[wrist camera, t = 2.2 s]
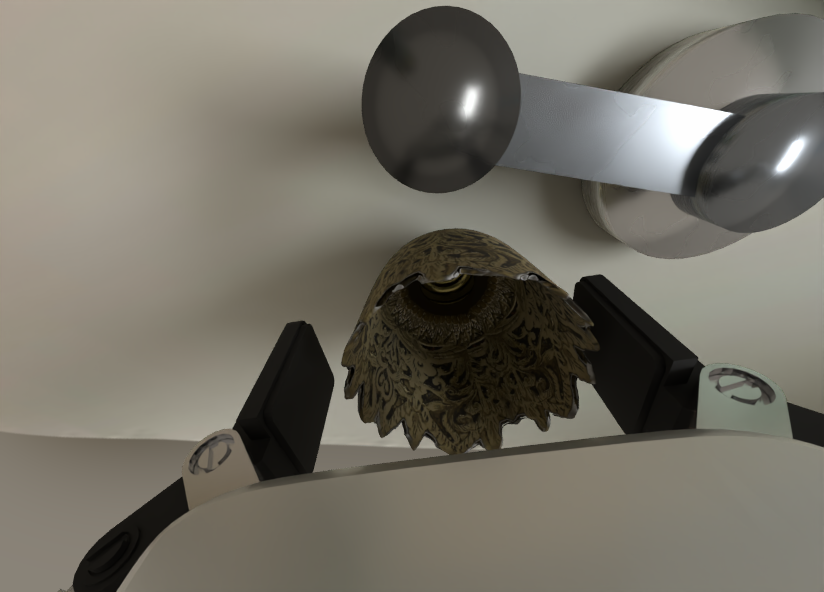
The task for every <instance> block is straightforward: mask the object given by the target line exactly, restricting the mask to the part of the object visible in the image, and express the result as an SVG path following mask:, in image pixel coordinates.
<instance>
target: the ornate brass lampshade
mask: <svg viewBox="0 0 824 592" xmlns="http://www.w3.org/2000/svg"><path fill="white" fill-rule="evenodd" d="M589 326H593V323H592V321H591V319H590V318H589V317H588V315H587V314H586V313H585V312H584V311H583V310H582V309H581V308H580V307H579V306H578V305H577V304H576V303H575V302H574V301H573V300H572V299H571V298H570V297H569V294H568V293H567V292H565V291H564V290H563V289H561V288H560V287H558V286H557V285H556V284H555V283H553V282H552V281H551V280H550V279H549V278H548V277H547V276H545V275H544V274H543V273H542V272H541V271H540V270H538V269H537V268H536V267H535V266H534V265H533V264H531V263H530V262H529V261H528V260H527V259H525V258H524V257H523V256H522V255H520V254H519V253H518V252H516V251H515V250H514V249H512V248H511V247H510V246H508V245H507V244H505V243H503V242H501V241H500V240H498V239H496V238H494V237H492V236H489V235H487V234H484V233H481V232H478V231H474V230H468V229H457V228H455V229H443V230H437V231H434V232H430V233H427V234H425V235H422V236H420V237H418V238H416V239H414V240H412V241H411V242H409V243H408V244H406V245H405V246H404V247H402V248H401V249H400V250H399V251H398V252H397V253H396V254H395V255H394V256H393V257H392V258H391V259H390V260H389V262H388V263H387V264H386V266H385V267H384V269H383V270H382V272H381V273H380V275H379V277H378V279H377V280H376V282H375V284H374V286H373V288H372V290H371V293H370V295H369V297H368V299H367V301H366V304H365V306H364V308H363V311H362V313H361V315H360V318H359V320H358V323H357V325H356V327H355V330H354V332H353V334H352V336H351V337H350V339H349V341H348V343H347V345H346V347H345V350H344V353H343V357H342V361H341V365H342V366H343V367H347V369H348V370H349V371H348V376H347V379H346V381H345V387H344V393H345V398H346V399H353V398H354V397H355V396H356V394H357V392H358V412H359V415H360V418H361V420H362V421H363V422H364V423H365V424H366V423H371V422H374V423H376V424H377V428H378V432H379V435H380V437H381V438H383V437H385V436H387V435H388V434H389V433H390V432H391V431H392V430H393V429H396V428H397V427H398V426H399V425H400V423H401V422H402V425H403V428H404V435H405V436H406V438H407V439H408V442H409V444H410V446H411V448H412V449H413V450H415V449H416V448H417V447H418V446H419V444H420V442H421V440H422V438H423V437H424V436H426V437H427V438H429V439H431V440H432V441H433V442H434V443H435V446H436V447H437V448H439V449H441V450H443V451H444V452H446V453H448V454H449V455H454V454H463V453H467V452H469V451H470V450H471V449H472V448H474V447H475V446H477V445H480V446H482V447H483V448H485V449H486V450H496V449H501V447H502V444H503V439H502V428H503V427H502V425H503V424H505V423H506V424H505V425H507V424H518V423H519V422H520V421H521V419H524V418H521V417H525V416H526V417H527V418H529V419H531V420H534V421H535V423H536V424H537V427H538V428H539V429H540V430H541V431H542V432H546V431H548V429H549V427H550V414H549V412H551V413H553V414H552V415H554V416H559V417H561V418H567V419H573V418H575V415H576V413H577V411H578V409H579V396H578V390H577V383H576V381H577V378H579V379H580V380H581V381H585V382H586V383H589V384H596V379H595V374H594V372H593V368H592V364H591V362H590V361H589V360H588V359H587V358H586V356H585V354H584V352H583V351H585V349H587V350H590V351H599V350H600V347H599V344H598V342H597V340H596V338H595V337H594V335H593V334H592V333H591V331H590V327H589ZM555 414H556V415H555ZM507 422H510V423H507ZM505 425H503V426H505Z"/></svg>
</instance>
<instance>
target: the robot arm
mask: <svg viewBox="0 0 824 592" xmlns="http://www.w3.org/2000/svg"><path fill="white" fill-rule="evenodd" d="M573 301H574V302H575V303H576V304H577V305H578V306H579V307H580V308H581V309H582V310H583V311H584V312H585V313H586V314H587V315H588V317H589V318H590V319H591V321H592V323H593V326H589V327H590V331H591V333H592V334H593V335H594V337H595V338H596V340H597V342H598V344H599V347H600V350H599V351H590V350H587V349H585V351H583V352H584V354H585V356H586V358H587V359H588V360H589V361H590V362H591V364H592V368H593V372H594V374H595V379H596V384H592V385H593V387H594V388H595V390H596V391H597V393H598V394H599V396H600V397H601V399H602V400H603V402H604V403H605V405H606V406H607V408H608V409H609V411H610V412H611V414H612V415H613V417H614V418H615V420H616V421H617V423H618V424H619V426H620V427H621V428H622V430H623V431H624V433H625V434H626V435H616V436H607V437H598V438H589V439H581V440H572V441H564V442H555V443H546V444H538V445H529V446H520V447H512V448H504V449H496V450H487V451H479V452H471V453H463V454H454V455H447V456H438V457H430V458H423V459H414V460H406V461H398V462H390V463H382V464H374V465H367V466H359V467H351V468H344V469H336V470H328V471H323V472H315V473H312V472H313V470H314V466H315V462H316V458H317V454H318V450H319V445H320V441H321V437H322V433H323V429H324V425H325V421H326V416H327V412H328V408H329V404H330V400H331V396H332V391H333V387H334V376H333V373H332V371H331V368H330V366H329V364H328V362H327V359H326V357H325V355H324V352H323V350H322V348H321V346H320V343H319V341H318V339H317V336H316V334H315V332H314V330H313V327H312V325H311V324H307V323H306V322H305V321H298V322H291V323H287V324H286V326H285V328H284V330H283V332H282V334H281V335H280V337H279V339H278V341H277V343H276V345H275V347H274V349H273V351H272V353H271V355H270V356H269V358H268V360H267V362H266V364H265V366H264V368H263V370H262V372H261V374H260V376H259V378H258V379H257V381H256V383H255V385H254V387H253V389H252V391H251V393H250V395H249V397H248V399H247V400H246V402H245V404H244V406H243V408H242V410H241V412H240V414H239V416H238V418H237V420H236V423H235V425H234V427H233V429H223V430H219V431H216V432H214V433H212V434H210V435H208V436H207V437H205V438H204V439H203V440H201V441H200V442H199V443H198V444H197V445H196V446H195V447H194V448H193V449H192V450H191V451H190V453H189V454H188V456H187V457H186V459H185V461H184V463H183V466H182V477H181V478H180V479H178V480H177V481H176V482H174V483H173V484H171V485H170V486H169V487H167V488H166V489H165V490H163V491H162V492H161V493H159V494H158V495H157V496H156V497H154V498H153V499H152V500H150V501H149V502H147V503H146V504H145V505H143V506H142V507H141V508H139V509H138V510H137V511H135V512H134V513H133V514H132V515H130V516H128V517H127V518H126V519H124V520H123V521H122V522H120V523H119V524H118V525H116V526H115V527H114V528H112V529H111V530H110V531H109V532H107V533H106V534H105V535H104V536H103V537H102V538H101V539H99V540H98V541H97V542H96V544H95V545H94V546H93V547H92V548H91V549H90V550H89V551H88V553H87V554H86V555H85V557H84V558H83V560H82V561H81V563H80V564H79V567H78V569H77V571H76V573H75V575H74V580H73V585H72V586H71V587H70V588H69V589H68V590H67V591H65V590H62V589H60V590H59V591H58V592H824V414H821V413H818V412H815V411H812V410H809V409H806V408H803V407H800V406H797V405H794V404H791V403H788V402H787V401H786V397H785V395H784V393H783V391H782V390H781V389H780V388H779V387H778V386H777V384H776V383H774V382H773V381H771V380H770V379H769V378H767V377H766V376H764V375H762V374H760V373H758V372H756V371H754V370H751V369H748V368H745V367H742V366H738V365H733V364H727V363H715V364H711V365H707V366H706V367H705V366H704V365H703V364H702V363H700V362H699V361H698V357H697V356H696V355H695V354H694V353H693V352H691V351H690V350H689V349H688V348H687V347H686V346H684V345H683V344H682V343H681V342H680V341H679V340H677V339H676V338H675V337H674V336H673V335H672V334H670V333H669V332H668V331H667V330H666V329H665V328H664V327H662V326H661V325H660V324H659V323H658V322H657V321H655V320H654V319H653V318H652V317H651V316H650V315H648V314H647V313H646V312H645V311H644V310H643V309H641V308H640V307H639V306H638V305H637V304H636V303H634V302H633V301H632V300H631V299H630V298H629V297H627V296H626V295H625V294H624V293H623V292H622V291H620V290H619V289H618V288H617V287H616V286H615V285H614V284H612V283H611V282H610V281H609V280H608V279H607V278H605V277H604V276H603V275H593V276H586V277H582V278H581V279H580V282H577V283H576V284H575V289H574V296H573Z"/></svg>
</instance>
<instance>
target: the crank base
mask: <svg viewBox="0 0 824 592" xmlns="http://www.w3.org/2000/svg"><path fill="white" fill-rule="evenodd" d="M618 92H622V93H627V94H632V95H638V96H643V97H648V98H654V99H659V100H664V101H670V102H675V103H680V104H685V105H691V106H696V107H701V108H707V109H712V110H717V111H718V110H720V109H721V108H723V107H725V106H726V105H728V104H730V103H732V102H734V101H736V100H739V99H741V98H744V97H747V96H751V95H756V94H772V93H808V92H824V19H822V18H819V17H816V16H813V15H806V14H798V13H792V14H777V15H772V16H768V17H763V18H759V19H755V20H750V21H746V22H742V23H738V24H734V25H730V26H726V27H722V28H718V29H714V30H709V31H705V32H702V33H699V34H697V35H694V36H691V37H688V38H686V39H684V40H682V41H680V42H678V43H676V44H674V45H672V46H671V47H669V48H667V49H666V50H664V51H663V52H661V53H660V54H658V55H657V56H655V57H654V58H653V59H651V60H650V61H649V62H648V63H646V64H645V65H644V66H643V67H641V68H640V69H639V70H638V71H637V72H636V73H635V74H634V75H633V76H632V77H631V78H630V79H629V80H628V81H627V82H626V83H625V84H624V85H623V87H622V88H621V89H620V90H619V91H618ZM582 192H583V198H584V201H585V204H586V207H587V210H588V211H589V213H590V215H591V217H592V218H593V220H594V221H595V222H596V223H597V224H598V225H599V226H600V227H601V228H602V229H603V230H604V231H606V232H608V233H609V234H611V235H612V236H614V237H615V238H617V239H618V240H620V241H621V242H623V243H624V244H626V245H628V246H629V247H631V248H632V249H634V250H636V251H637V252H640V253H642V254H645V255H647V256H652V257H656V258H665V259H679V258H688V257H694V256H698V255H702V254H706V253H710V252H713V251H715V250H718V249H721V248H724V247H726V246H728V245H730V244H732V243H735V242H737V241H739V240H740V239H742V238H744V237H746V236H748V235H750V234H751V233H737V232H732V231H729V230H727V229H724V228H722V227H719V226H716V225H714V224H711V223H709V222H706V221H704V220H701V219H699V218H696V217H694V216H691V215H689V214H686V213H684V212H683V211H681V210H680V209H679V208H678V207H677V206H676V205H675V204H674V202H673V200H672V198H671V195H670V193H665V192H659V191H653V190H646V189H640V188H634V187H628V186H622V185H615V184H609V183H603V182H597V181H591V180H584V179H582Z"/></svg>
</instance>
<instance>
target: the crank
mask: <svg viewBox="0 0 824 592" xmlns="http://www.w3.org/2000/svg"><path fill="white" fill-rule="evenodd" d="M362 117H363V124H364V128H365V133H366V136H367V139H368V142H369V144H370V147H371V149H372V151H373V153H374V155H375V156H376V158H377V159H378V161H379V162H380V164H381V165H382V166H383V167H384V168H385V170H386V171H387V172H388V173H389V174H390V175H392V176H393V177H394V178H395V179H397V180H398V181H399V182H401V183H402V184H404V185H406V186H408V187H410V188H413V189H415V190H418V191H422V192H427V193H447V192H452V191H456V190H459V189H462V188H465V187H467V186H469V185H471V184H473V183H475V182H476V181H478V180H479V179H481V178H482V177H483V176H484V175H486V174H487V173H488V172H489V171H490V170H491V169H492V168H493V167H494V166H495V165H498V166H504V167H510V168H516V169H522V170H529V171H535V172H541V173H547V174H553V175H560V176H566V177H572V178H578V179H584V180H591V181H597V182H603V183H609V184H615V185H622V186H628V187H634V188H640V189H646V190H653V191H659V192H665V193H670V195H671V198H672V200H673V202H674V204H675V205H676V206H677V207H678V208H679V209H680V210H681V211H683V212H684V213H686V214H689V215H691V216H694V217H696V218H699V219H701V220H704V221H706V222H709V223H711V224H714V225H716V226H719V227H722V228H724V229H727V230H729V231H732V232H737V233H754V232H760V231H764V230H768V229H771V228H774V227H777V226H779V225H781V224H784V223H786V222H788V221H790V220H792V219H794V218H795V217H797V216H799V215H800V214H802V213H804V212H805V211H807V210H808V209H809V208H811V207H812V206H814V205H815V204H816V203H817V202H819V201H820V200H821V199H822V198H823V197H824V92H808V93H772V94H756V95H751V96H747V97H744V98H741V99H739V100H736V101H734V102H732V103H730V104H728V105H726V106H725V107H723V108H721V109H720V110H718V111H717V110H712V109H707V108H701V107H696V106H691V105H685V104H680V103H675V102H670V101H664V100H659V99H654V98H648V97H643V96H638V95H632V94H627V93H622V92H616V91H611V90H606V89H600V88H595V87H590V86H585V85H579V84H574V83H569V82H563V81H558V80H553V79H547V78H542V77H537V76H531V75H526V74H521V73H518V68H517V64H516V62H515V59H514V56H513V53H512V51H511V49H510V48H509V46H508V44H507V42H506V41H505V39H504V38H503V36H502V35H501V34H500V32H499V31H498V30H497V29H496V28H495V27H494V26H493V25H492V24H491V23H490V22H488V21H487V20H486V19H484V18H483V17H482V16H480V15H478V14H476V13H474V12H472V11H470V10H466V9H463V8H460V7H452V6H437V7H431V8H427V9H423V10H421V11H419V12H416V13H414V14H412V15H410V16H408V17H407V18H405V19H404V20H402V21H401V22H400V23H398V24H397V25H396V26H395V27H394V28H393V29H391V31H390V32H389V33H388V34H387V35H386V36H385V37H384V39H383V40H382V41H381V43H380V45H379V46H378V48H377V49H376V51H375V53H374V55H373V57H372V59H371V61H370V63H369V66H368V69H367V72H366V75H365V80H364V84H363V92H362Z"/></svg>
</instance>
